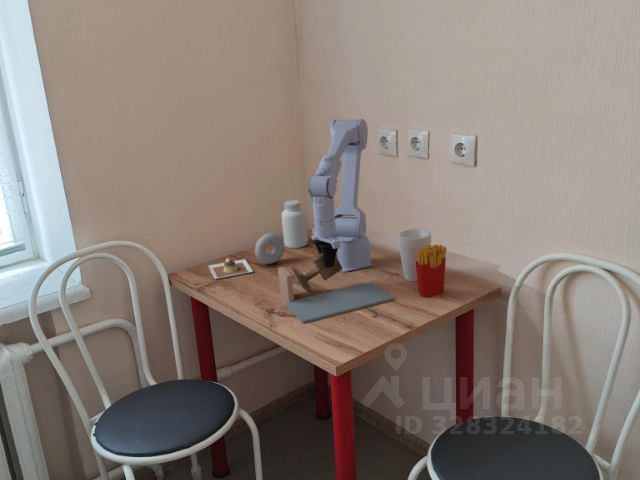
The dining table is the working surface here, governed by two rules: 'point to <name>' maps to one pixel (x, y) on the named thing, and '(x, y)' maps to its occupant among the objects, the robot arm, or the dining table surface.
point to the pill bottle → (294, 225)
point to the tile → (286, 284)
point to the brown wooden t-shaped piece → (317, 271)
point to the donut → (264, 242)
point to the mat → (337, 302)
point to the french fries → (431, 270)
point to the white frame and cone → (230, 267)
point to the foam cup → (412, 249)
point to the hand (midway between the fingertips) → (328, 265)
